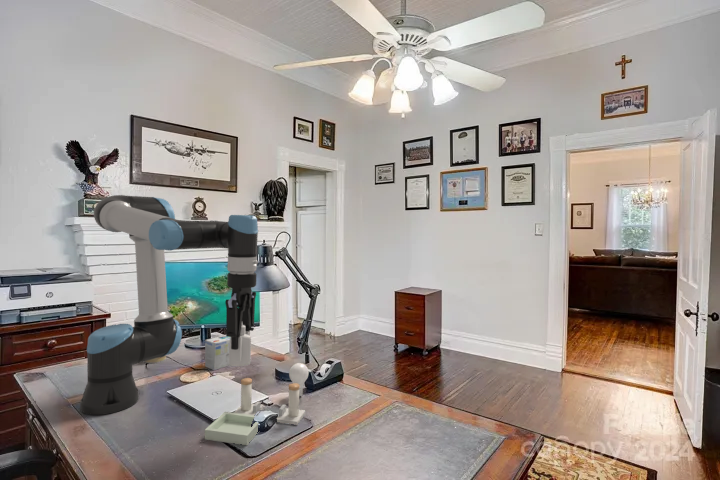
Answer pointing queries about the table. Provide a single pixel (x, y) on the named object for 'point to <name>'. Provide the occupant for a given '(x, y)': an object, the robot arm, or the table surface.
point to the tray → (232, 428)
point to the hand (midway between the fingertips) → (240, 357)
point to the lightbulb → (299, 375)
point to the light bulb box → (217, 352)
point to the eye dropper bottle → (245, 350)
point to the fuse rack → (285, 414)
